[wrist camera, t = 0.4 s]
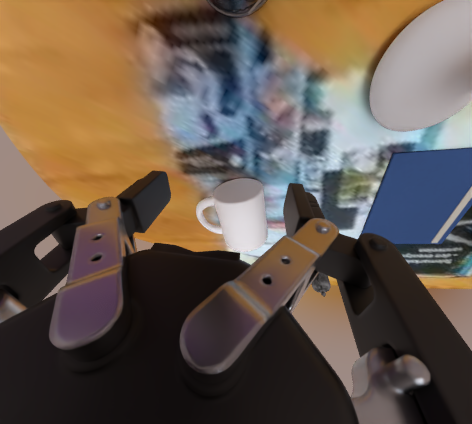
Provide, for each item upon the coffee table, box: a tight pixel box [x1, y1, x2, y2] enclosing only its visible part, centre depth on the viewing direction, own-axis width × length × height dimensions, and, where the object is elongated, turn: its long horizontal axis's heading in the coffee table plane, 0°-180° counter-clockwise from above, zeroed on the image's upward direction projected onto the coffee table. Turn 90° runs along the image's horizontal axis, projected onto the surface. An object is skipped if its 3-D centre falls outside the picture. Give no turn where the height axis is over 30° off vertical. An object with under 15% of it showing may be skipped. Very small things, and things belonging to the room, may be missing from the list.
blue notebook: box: [361, 148, 472, 244], centre depth 30 cm, size 18×14×1 cm
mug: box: [196, 178, 268, 252], centre depth 31 cm, size 12×10×8 cm
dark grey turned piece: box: [312, 272, 330, 296], centre depth 33 cm, size 6×6×12 cm
